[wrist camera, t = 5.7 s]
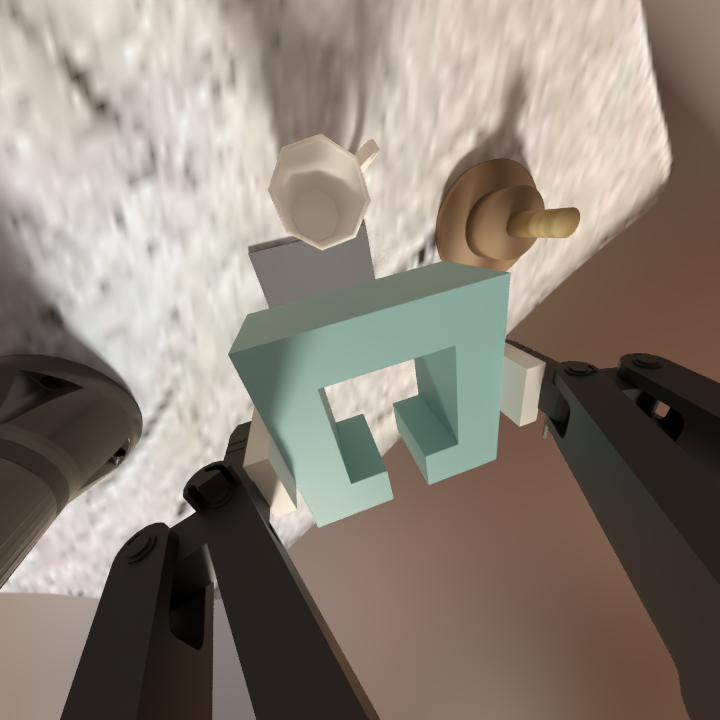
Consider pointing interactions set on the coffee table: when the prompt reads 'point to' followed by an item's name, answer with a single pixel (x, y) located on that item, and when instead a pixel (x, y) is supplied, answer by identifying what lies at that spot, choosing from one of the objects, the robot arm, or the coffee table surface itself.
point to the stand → (497, 217)
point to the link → (371, 353)
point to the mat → (312, 269)
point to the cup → (321, 190)
